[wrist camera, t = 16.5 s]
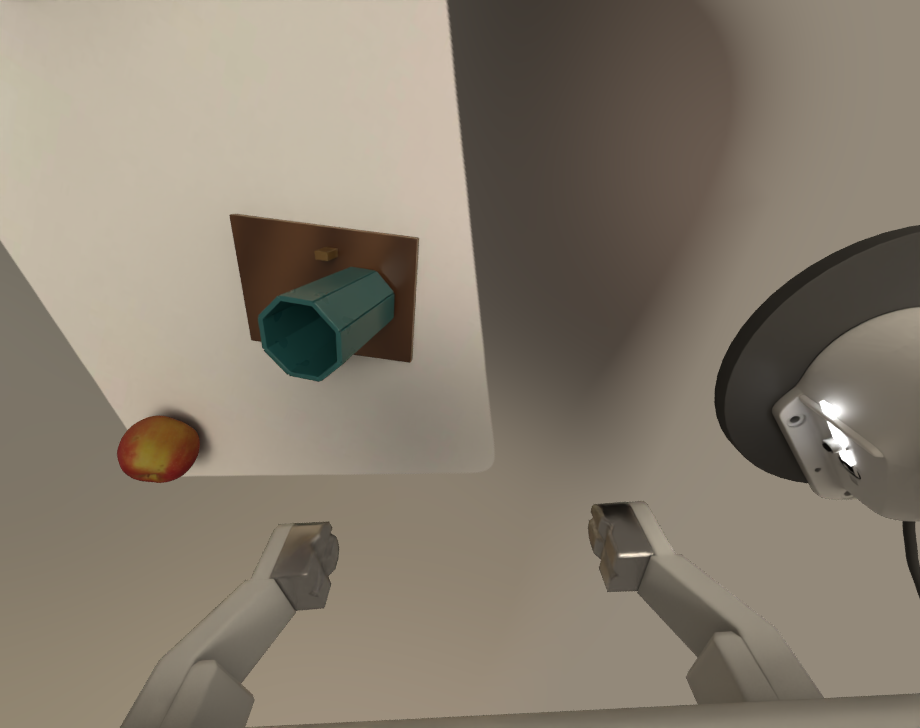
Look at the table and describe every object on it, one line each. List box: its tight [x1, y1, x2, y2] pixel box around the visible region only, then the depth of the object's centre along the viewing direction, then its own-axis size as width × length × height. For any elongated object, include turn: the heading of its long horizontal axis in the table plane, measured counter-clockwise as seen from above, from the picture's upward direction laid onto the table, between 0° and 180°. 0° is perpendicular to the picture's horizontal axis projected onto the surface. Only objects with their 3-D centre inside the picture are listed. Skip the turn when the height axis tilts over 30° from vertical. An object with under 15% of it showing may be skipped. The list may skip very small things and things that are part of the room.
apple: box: [117, 416, 200, 483], centre depth 43 cm, size 8×8×8 cm
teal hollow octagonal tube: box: [258, 267, 394, 382], centre depth 30 cm, size 6×6×11 cm
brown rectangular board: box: [230, 214, 419, 362], centre depth 35 cm, size 18×13×3 cm
